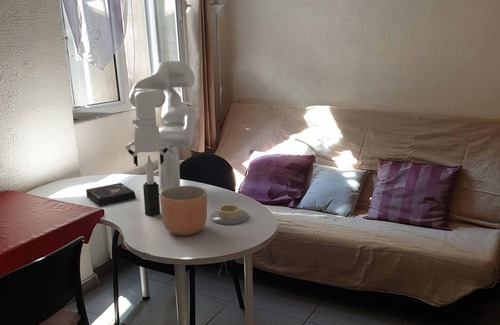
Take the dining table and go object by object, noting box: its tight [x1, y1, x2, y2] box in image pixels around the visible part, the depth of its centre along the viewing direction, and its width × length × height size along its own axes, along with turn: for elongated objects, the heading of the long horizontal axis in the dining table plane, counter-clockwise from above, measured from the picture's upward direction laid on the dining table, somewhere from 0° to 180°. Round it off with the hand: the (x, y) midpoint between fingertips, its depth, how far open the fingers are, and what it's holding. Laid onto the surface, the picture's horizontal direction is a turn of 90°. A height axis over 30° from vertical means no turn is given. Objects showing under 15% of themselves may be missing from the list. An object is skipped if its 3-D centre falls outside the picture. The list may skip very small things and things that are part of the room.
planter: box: [159, 185, 208, 237], centre depth 165 cm, size 17×17×15 cm
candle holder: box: [210, 203, 249, 226], centre depth 179 cm, size 15×15×4 cm
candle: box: [142, 155, 161, 218], centre depth 181 cm, size 5×5×25 cm
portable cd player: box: [85, 182, 137, 207], centre depth 204 cm, size 16×17×4 cm
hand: (149, 164), depth 179 cm, fingers open, 9 cm apart
